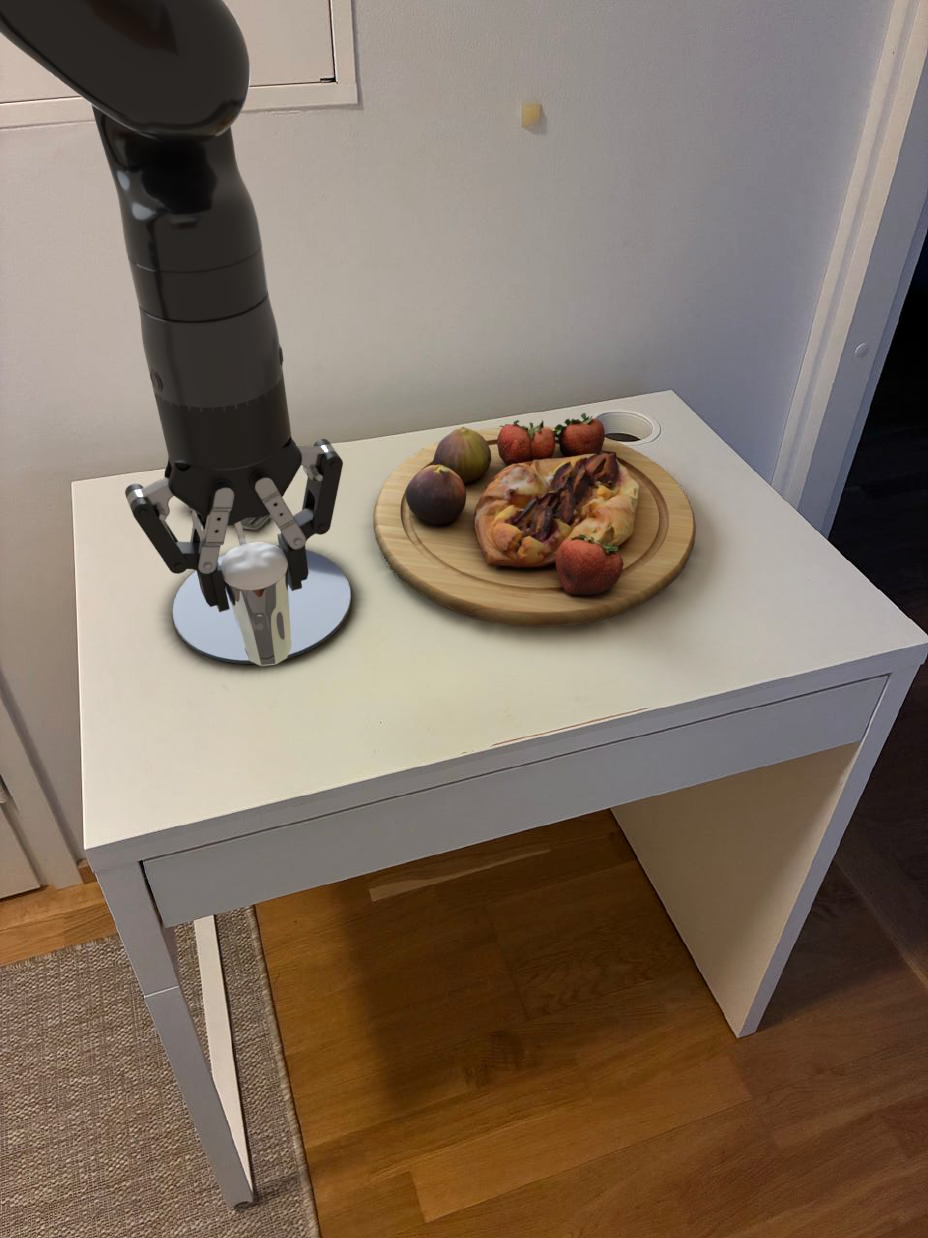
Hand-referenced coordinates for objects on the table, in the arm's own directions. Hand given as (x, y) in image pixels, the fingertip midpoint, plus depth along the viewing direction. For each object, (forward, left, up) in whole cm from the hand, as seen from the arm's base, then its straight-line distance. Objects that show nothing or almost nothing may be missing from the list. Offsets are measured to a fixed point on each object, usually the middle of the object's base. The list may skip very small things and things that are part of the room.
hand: (257, 592), depth 67 cm
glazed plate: (+3, +15, -14) cm, 21 cm away
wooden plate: (+31, +15, -14) cm, 37 cm away
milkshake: (0, 0, -6) cm, 6 cm away
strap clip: (+4, +30, -14) cm, 33 cm away
